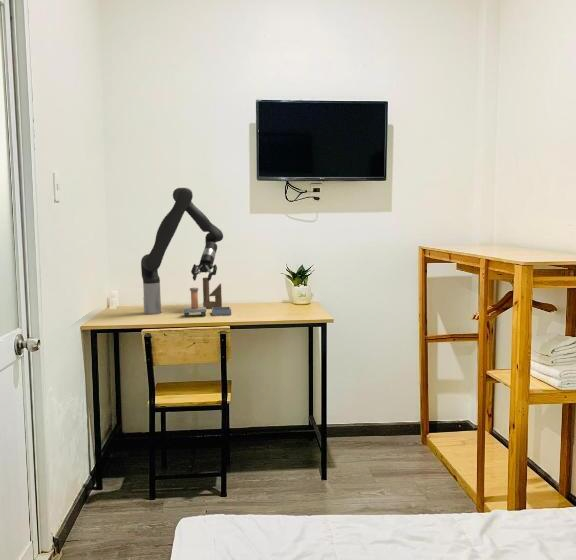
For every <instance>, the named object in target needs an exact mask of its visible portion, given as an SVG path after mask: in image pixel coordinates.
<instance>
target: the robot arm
mask: <svg viewBox="0 0 576 560" xmlns="http://www.w3.org/2000/svg"><path fill="white" fill-rule="evenodd" d="M193 196H194V195H193V191H192V189H190V188H188V187H178V188H175V189H174V190H173V193H172V199H173V201H174V204H173V207H172V208H171V210H169V212H168V213H166V215H165V216H164V218H163V219H162V221H161V222H160V224H159V227H158V229H157V230H156V234H155V241H154V243H153V247H152V248H151V250H150V251H149V253H147V254H145V255H143V256H142V258H141V260H140V269H141V271H140V273H141V278H142V286H143V299H142V300H143V314H144V315H145V314H147V315H155V314H160V313H162V303H161V300H162V299H161V278H160V276H159V271H158V270H159V268H160V267H161V264H162V261H163V259H164V256H165V253H166V251H167V249H168V247H169V245H170V243H171V241H172V239H173V238H174V235H175V233H176V232H177V229H178V226H180V223H181V220H182V218H183V217H184V213H185V212H186V213H187V214H188V215H189V216H190V218H191V219H192V220H193V221H194V222H195V224H196V225H197V227H199V228H200V230H201V231H202V232H204V233H206V232H207V234H206V235H205V243H204V244H205V246H204V249H203V252H202V255H201V257H200V260H199V264H196V263H194V264H193V266H192V269H191V270H190V272H191V275H192V279H193V281H194V282H195V281H196V280H197V277H198V275H199V274H201V273H208V275H207V277H206V278H207V279H208V281H209V282H210V281H211V280H212V277H213V276H216V274H217V271H218V266H217V264H214V263H215V262H214V261H215V258H216V253H217V250H218V244H217V243H219V242H221V241H222V240H223V239H224V234H223V232H222V230H221V229H220V228H218V226H216V225H215V224H213V223H212V222H211V221H210V220H209V218H208V217H207V216H206V214H204V213H203V212H202V210H200V209H199V208H198V207H197V205H195V204H194V203H193V202H192V200H193Z"/></svg>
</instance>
